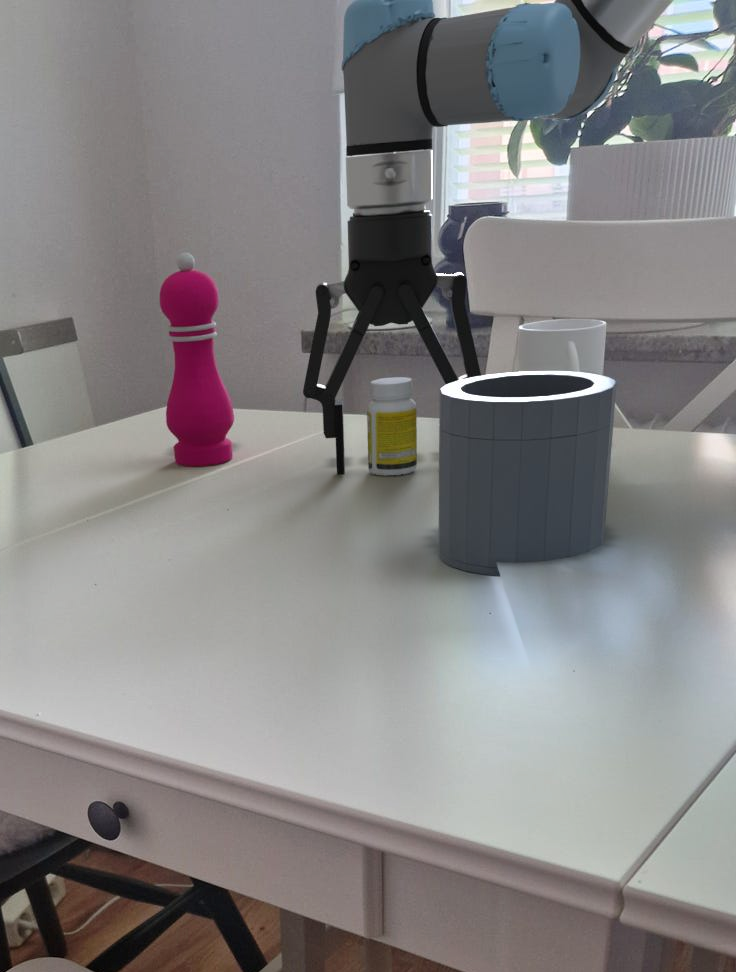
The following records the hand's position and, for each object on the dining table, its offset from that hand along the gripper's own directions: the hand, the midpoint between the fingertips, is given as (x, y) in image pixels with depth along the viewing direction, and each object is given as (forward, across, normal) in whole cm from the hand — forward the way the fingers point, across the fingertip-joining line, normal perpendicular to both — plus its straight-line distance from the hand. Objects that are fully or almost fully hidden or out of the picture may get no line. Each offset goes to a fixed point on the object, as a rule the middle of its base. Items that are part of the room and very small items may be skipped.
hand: (392, 468), depth 115 cm
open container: (0, +9, -29) cm, 30 cm away
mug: (0, +16, +1) cm, 16 cm away
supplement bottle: (0, 0, 0) cm, 0 cm away
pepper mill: (0, -20, +10) cm, 22 cm away
